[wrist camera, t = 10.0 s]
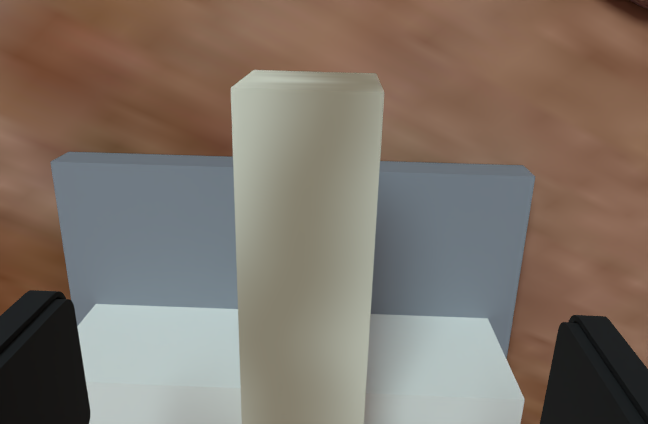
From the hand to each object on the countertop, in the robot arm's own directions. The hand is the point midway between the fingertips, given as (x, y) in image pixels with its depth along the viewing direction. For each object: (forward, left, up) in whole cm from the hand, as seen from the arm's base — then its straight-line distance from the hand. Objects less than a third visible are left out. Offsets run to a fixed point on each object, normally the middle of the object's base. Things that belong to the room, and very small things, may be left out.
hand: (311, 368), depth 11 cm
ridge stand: (0, +6, -13) cm, 14 cm away
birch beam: (0, +6, -6) cm, 9 cm away
